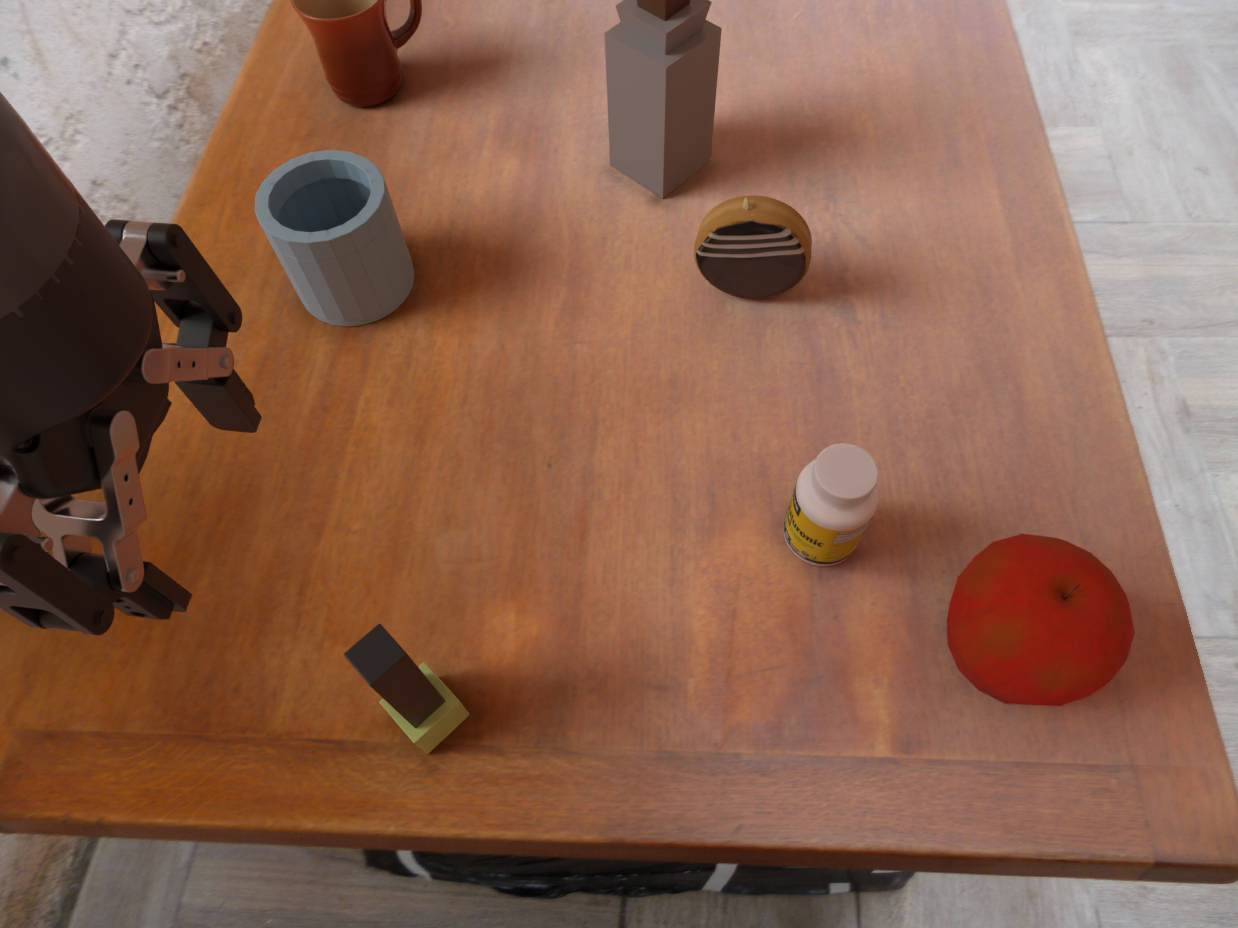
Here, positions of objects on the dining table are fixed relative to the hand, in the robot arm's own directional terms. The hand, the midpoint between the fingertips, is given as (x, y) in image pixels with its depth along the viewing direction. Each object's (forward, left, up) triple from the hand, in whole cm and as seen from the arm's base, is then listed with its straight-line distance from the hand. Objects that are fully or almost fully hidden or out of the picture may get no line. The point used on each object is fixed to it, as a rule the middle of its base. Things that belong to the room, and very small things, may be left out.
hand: (205, 509), depth 37 cm
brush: (+1, -6, -24) cm, 25 cm away
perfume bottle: (+49, +19, -24) cm, 58 cm away
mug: (+38, +48, -24) cm, 66 cm away
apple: (+31, -30, -24) cm, 50 cm away
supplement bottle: (+29, -16, -24) cm, 41 cm away
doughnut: (+43, +3, -24) cm, 50 cm away
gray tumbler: (+20, +28, -24) cm, 42 cm away
